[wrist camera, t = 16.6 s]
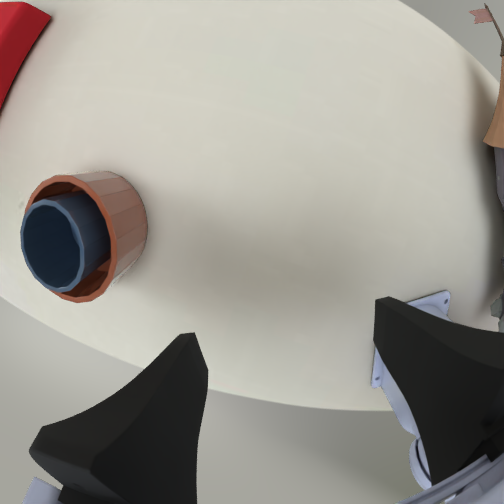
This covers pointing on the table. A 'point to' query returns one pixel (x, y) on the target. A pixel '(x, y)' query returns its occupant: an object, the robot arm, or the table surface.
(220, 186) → the table surface
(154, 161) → the table surface
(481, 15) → the model tower
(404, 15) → the table surface
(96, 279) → the terracotta tumbler
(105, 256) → the blue cup
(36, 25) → the red flat box
